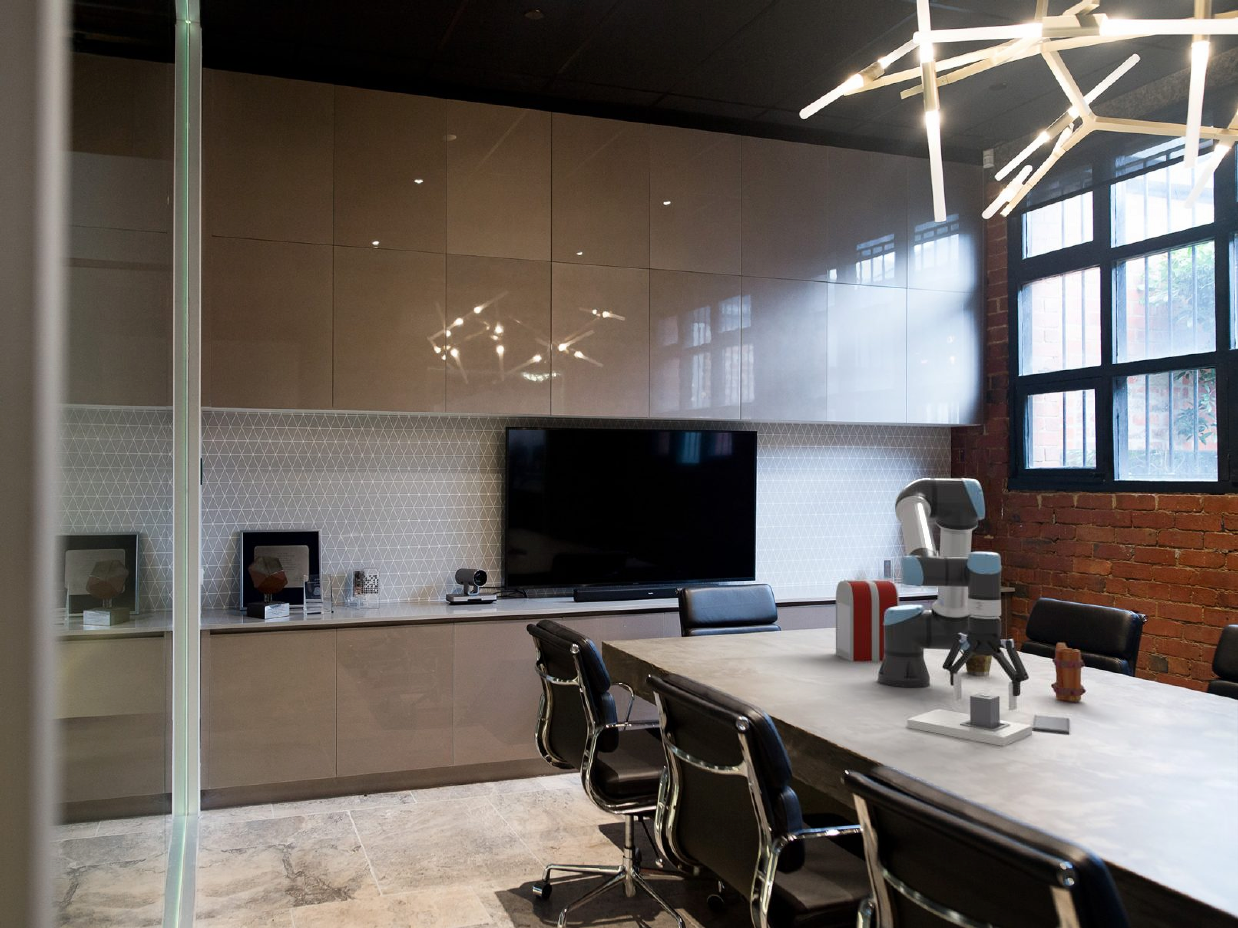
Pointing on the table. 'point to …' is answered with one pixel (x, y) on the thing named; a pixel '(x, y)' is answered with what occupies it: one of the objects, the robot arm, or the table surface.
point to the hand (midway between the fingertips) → (984, 704)
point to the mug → (1068, 674)
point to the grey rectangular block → (985, 710)
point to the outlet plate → (968, 727)
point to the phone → (1051, 724)
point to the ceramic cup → (978, 664)
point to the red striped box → (863, 618)
